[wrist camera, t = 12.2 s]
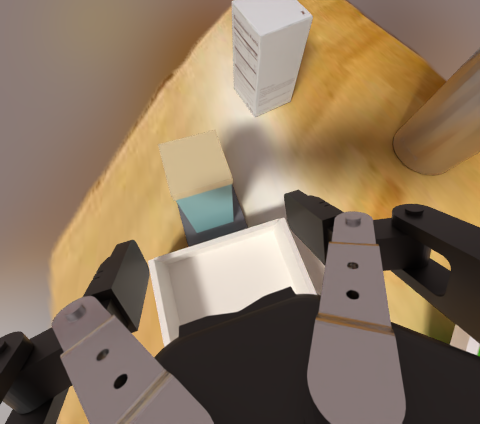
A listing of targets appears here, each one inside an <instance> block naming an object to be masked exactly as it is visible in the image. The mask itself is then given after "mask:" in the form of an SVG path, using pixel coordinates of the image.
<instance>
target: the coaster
mask: <svg viewBox="0 0 480 424" xmlns="http://www.w3.org/2000/svg"><path fill="white" fill-rule="evenodd" d="M232 202H233V221H234V222H231V223H228V224H225V225H221V226H218V227H215V228H212V229H209V230H205V231H202V232H199V233H197V232H196V231H195V229H194V228H193V226H192V225H191V223H190V222H189V220H188V219H187V217H186V215H185V214H184V212H183V211H182V209H181V208H180V206H179V205H178V208H179V212H180V216H181V219H182V223H183V227H184V231H185V235H186V239H187V243H188V246H189V247H191V246H194V245H197V244H200V243H203V242H206V241H209V240H212V239H216V238H219V237H222V236H225V235H228V234H231V233H234V232H238V231H241V230H244V229H247V224H246V222H245V219H244V216H243V213H242V210H241V208H240V205H239V202H238V199H237V196H236V194H235V191H234V188H233V185H232ZM177 204H178V203H177Z"/></svg>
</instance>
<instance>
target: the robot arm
mask: <svg viewBox="0 0 480 424" xmlns="http://www.w3.org/2000/svg"><path fill="white" fill-rule="evenodd" d="M393 147H394V150H395V153H396V155H397V156H398V158H399V159H400V160H401V161H402V162H403V163H404V164H405V165H406V166H407V167H409V168H410V169H412V170H414V171H416V172H419V173H422V174H426V175H439V174H442V173H445V172H446V171H448V170H450V169H451V168H453V167H455V166H457V165H458V164H460V163H462V162H463V161H465V160H467V159H468V158H470V157H472V156H474V155H475V154H477V153H479V152H480V48H479V49H478V50H477V51H476V52H475V53H474V54H473V55H472V56H471V57H470V58H469V59H468V60H467V61H466V62H465V63H464V64H463V65H462V66H461V67H460V69H458V70H457V72H456V73H455V74H454V75H453V76H452V77H451V78H450V79H449V80H448V81H447V82H446V83H445V84H444V85H443V86H442V87H441V88H440V89H439V90H438V91H437V92H436V93H435V94H434V95H433V96H432V97H431V98H430V99H429V100H428V101H427V102H426V103H425V104H424V105H423V106H422V107H421V108H420V109H419V110H418V111H417V112H416V113H415V114H414V115H413V116H412V117H411V118H410V119H409V120H408V121H407V122H406V123H405V124H404V125H403V126H402V128H401V129H400V130H399V131H398V132H397V133H396V134H395V136H394V140H393ZM284 201H285V207H286V214H287V221H288V224H289V227H290V228H291V230H292V231H293V232H294V233H295V234H296V235H297V236H298V237H299V239H300V240H301V241H302V242H303V243H304V244H305V245H306V246H307V247H308V248H309V249H310V250H311V251H312V252H313V253H314V254H315V255H316V256H317V258H318V259H319V260H320V261H321V262H322V263H323V264H324V265H325V273H324V279H323V286H322V293H321V295H315V294H295V292H294V291H293V289H292V287H291V286H290V287H287V288H284V289H282V290H279V291H276V292H273V293H270V294H268V295H265V296H263V297H261V298H260V299H258V300H257V301H255V302H253V303H252V304H250V305H248V306H247V307H245V308H244V309H242V310H240V311H238V312H233V313H225V314H218V315H210V316H206V317H203V318H200V319H197V320H194V321H192V322H189V323H186V324H183V325H180V326H179V337H177V338H176V339H174V340H173V341H172V342H170V343H169V344H168V345H166V346H165V347H164V348H163V349H162V350H161V351H160V352H159V353H158V354H157V355H156V356H155V357H153V356H152V355H151V354H150V353H149V352H148V351H147V350H146V349H145V348H144V347H143V345H142V344H141V343H140V342H139V341H138V340H137V339H136V338H135V337H134V336H133V335H132V334H131V333H133V332H135V331H138V327H139V323H140V318H141V313H142V308H143V304H144V299H145V294H146V290H147V285H148V280H149V268H148V265H147V263H146V261H145V259H144V257H143V255H142V253H141V251H140V249H139V247H138V245H137V243H136V242H135V241H134V240H130V241H127V242H124V243H120V244H117V245H116V247H115V249H114V251H113V253H112V255H111V256H110V257H108V258H107V259H106V260H105V261H104V262H103V263H102V264H101V265H100V267H99V269H98V270H97V272H96V273H97V274H95V276H94V278H93V280H92V281H91V283H90V285H89V287H88V288H87V290H86V292H85V294H84V295H83V297H82V298H80V299H77V300H75V301H73V302H72V303H70V304H69V305H67V306H66V307H65V308H63V309H62V310H61V311H60V312H59V313H58V314H57V315H56V317H55V318H54V320H53V322H52V328H50V329H48V330H46V331H44V332H42V333H41V334H39V335H37V336H35V337H33V338H31V339H28V338H27V337H26V336H25V335H24V334H23V333H22V332H13V333H10V334H7V335H5V336H3V337H1V338H0V404H1V403H2V401H3V402H5V403H6V404H7V405H8V406H10V407H11V408H12V409H13V410H12V412H11V414H10V416H9V417H8V419H7V421H6V423H5V424H56V422H57V419H58V416H59V414H60V411H61V408H62V406H63V403H64V400H65V397H66V395H67V392H68V389H69V387H70V386H72V385H73V387H74V389H75V392H76V394H77V396H78V399H79V401H80V403H81V405H82V408H83V410H84V412H85V414H86V417H87V419H88V421H89V423H90V424H480V356H478V355H475V354H472V353H470V352H467V351H465V350H462V349H460V348H457V347H454V346H452V345H449V344H447V343H444V342H442V341H439V340H436V339H434V338H431V337H429V336H426V335H424V334H421V333H418V332H416V331H413V330H411V329H408V328H406V327H403V326H400V325H398V324H395V323H393V322H390V315H389V309H388V302H387V295H386V289H385V282H384V275H383V271H386V270H391V271H392V272H393V273H394V274H395V275H397V276H398V277H399V278H400V279H401V280H403V281H404V282H405V283H406V284H408V285H409V286H410V287H411V288H412V289H414V290H415V291H416V292H417V293H418V294H420V295H421V296H422V297H423V298H425V299H426V300H427V301H428V302H429V303H431V304H432V305H433V306H434V307H435V308H437V309H438V310H439V311H440V312H442V313H443V314H444V315H445V316H446V317H448V318H449V319H450V320H451V321H453V322H454V323H455V324H456V325H457V326H459V327H460V328H461V329H462V330H463V331H465V332H466V333H467V334H468V335H470V336H471V337H472V338H473V339H474V340H476V341H477V342H478V343H479V344H480V227H477V226H475V225H472V224H470V223H467V222H465V221H462V220H460V219H458V218H455V217H453V216H450V215H448V214H445V213H443V212H440V211H438V210H436V209H433V208H431V207H428V206H424V205H419V204H404V205H399V206H396V207H395V208H393V210H392V218H387V219H379V220H373V219H372V217H371V216H369V215H368V214H365V213H362V212H345V213H344V212H342V211H341V210H339V209H337V208H336V207H334V206H332V205H330V204H329V203H327V202H325V201H324V200H322V199H321V198H319V197H315V196H311V195H310V196H307V195H306V194H304V193H303V192H301V191H300V190H296V191H293V192H289V193H286V194H285V195H284ZM431 249H433V250H434V251H436V252H438V253H439V254H441V255H443V256H444V257H445V258H446V259H447V260H448V262H449V263H450V266H451V271H450V270H448V269H446V268H445V267H443V266H442V265H440V264H438V263H437V262H435V261H434V260H432V259H430V253H431Z"/></svg>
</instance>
